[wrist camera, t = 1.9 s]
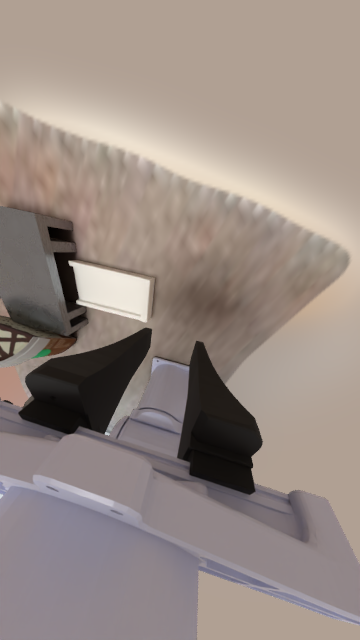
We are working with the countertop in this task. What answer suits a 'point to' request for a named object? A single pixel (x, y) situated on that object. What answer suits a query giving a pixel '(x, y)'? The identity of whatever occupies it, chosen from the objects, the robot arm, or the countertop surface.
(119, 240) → the countertop surface
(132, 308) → the tray
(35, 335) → the food container
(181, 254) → the countertop surface
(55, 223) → the shelf
